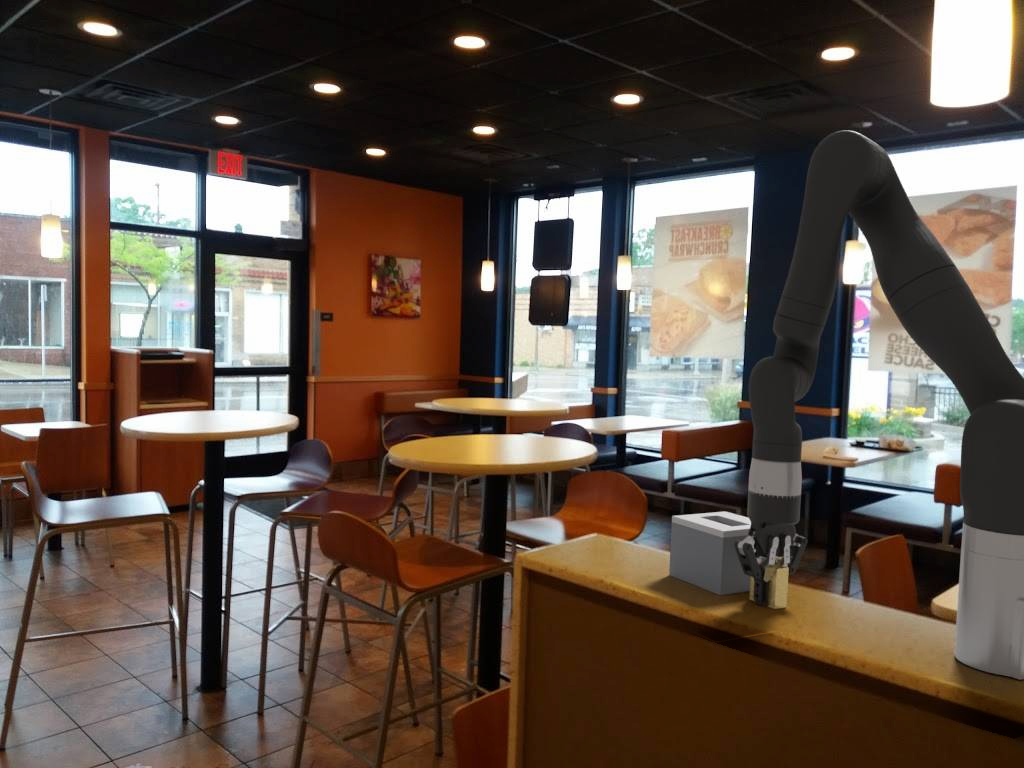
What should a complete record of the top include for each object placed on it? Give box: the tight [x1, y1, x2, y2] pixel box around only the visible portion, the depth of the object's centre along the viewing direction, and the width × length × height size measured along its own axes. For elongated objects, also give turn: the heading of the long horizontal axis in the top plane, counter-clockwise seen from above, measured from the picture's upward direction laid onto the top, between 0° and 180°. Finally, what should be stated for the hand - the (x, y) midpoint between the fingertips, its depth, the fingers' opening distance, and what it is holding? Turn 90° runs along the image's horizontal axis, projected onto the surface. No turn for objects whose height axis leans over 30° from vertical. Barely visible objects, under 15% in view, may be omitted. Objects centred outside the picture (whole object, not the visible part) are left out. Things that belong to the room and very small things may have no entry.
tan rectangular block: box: [749, 563, 790, 610], centre depth 123 cm, size 5×2×6 cm, turn 29°
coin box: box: [668, 511, 767, 596], centre depth 135 cm, size 12×12×10 cm
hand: (768, 602), depth 123 cm, fingers closed on tan rectangular block, 2 cm apart
